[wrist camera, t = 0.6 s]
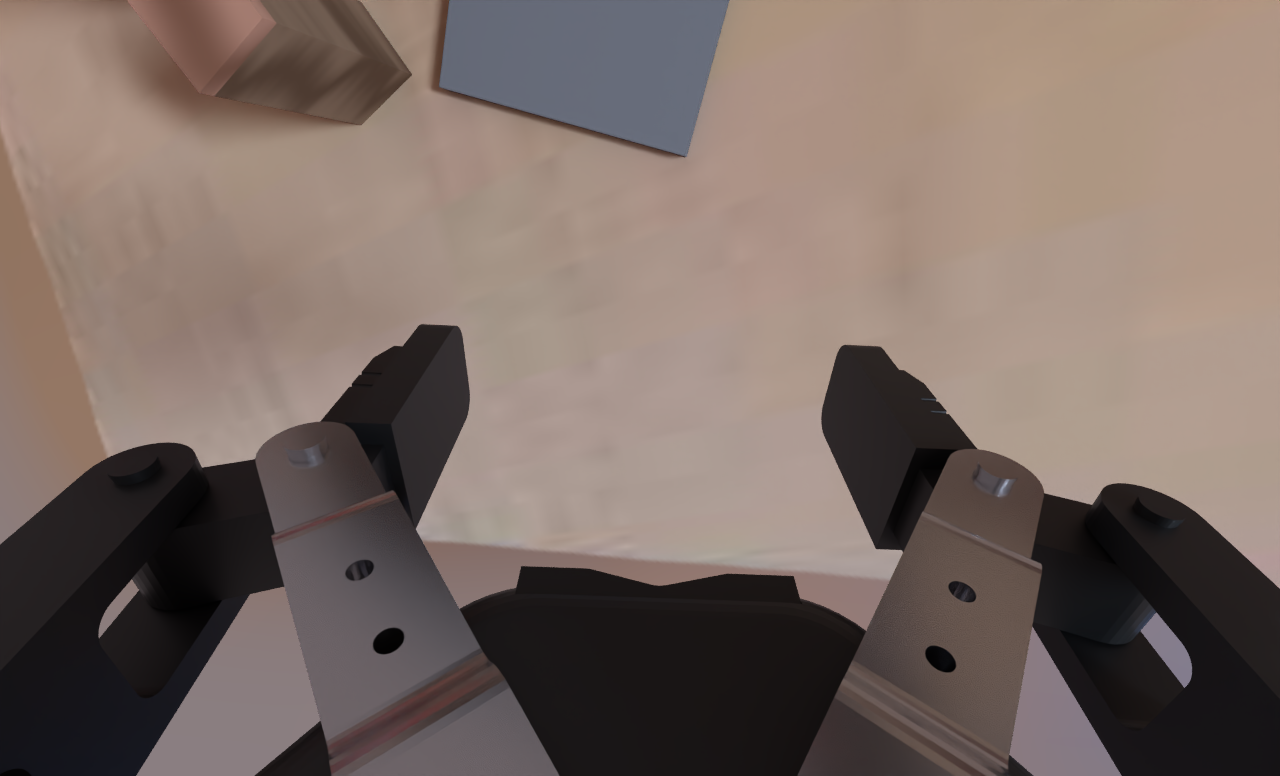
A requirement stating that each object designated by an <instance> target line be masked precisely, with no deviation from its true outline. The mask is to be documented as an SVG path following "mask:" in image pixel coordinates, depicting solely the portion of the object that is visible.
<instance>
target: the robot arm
mask: <svg viewBox="0 0 1280 776" xmlns="http://www.w3.org/2000/svg"><path fill="white" fill-rule="evenodd" d="M469 402H470V391H469V383H468V375H467V368H466V360H465V352H464V345H463V338H462V333H461V330H460V328H459V327H458V326H448V325H426V324H421V325H419V326H418V327H417V329H416V330H415V331H414V333H413V334H412V335H411V336H410V338H409V339H408V340H407V342H406V343H405V344H404V346H393V347H392V348H390V349H388V350H386V351H385V352H383V353H381V354H379V355H378V356H376V357H374V358H373V359H372V360H371V362H370V363H369V364H368V365H367V366H366V368H365V369H364V370H363V371H362V375H359V376H358V377H357V378H356V380H355V381H354V382H353V383H352V387H349V388H348V389H347V390H346V391H345V393H344V394H343V395H342V396H341V397H340V399H339V400H338V401H337V402H336V403H335V405H334V406H333V407H332V408H331V409H330V411H329V412H328V413H327V414H326V415H325V417H324V418H323V419H322V420H321V421H320V422H313V423H306V424H302V425H298V426H295V427H292V428H289V429H287V430H285V431H282V432H281V433H279V434H277V435H275V436H273V437H272V438H271V439H269V440H268V441H267V442H265V443H264V444H263V445H262V447H261V448H260V449H259V450H258V452H257V454H256V458H255V459H254V460H248V461H242V462H236V463H229V464H223V465H216V466H210V467H204V468H202V467H201V465H200V463H199V461H198V459H197V456H196V454H195V452H194V451H193V450H192V449H191V448H190V447H188V446H186V445H183V444H178V443H156V444H149V445H144V446H139V447H136V448H132V449H129V450H126V451H123V452H120V453H118V454H116V455H113V456H111V457H109V458H107V459H105V460H103V461H101V462H100V463H98V464H96V465H95V466H93V467H92V468H90V469H89V470H88V471H86V472H85V473H84V474H83V475H82V476H80V477H79V478H78V479H77V480H76V481H75V482H73V483H72V484H71V485H70V486H69V487H67V488H66V489H65V490H64V491H63V492H62V493H61V494H59V495H58V496H57V497H56V498H55V499H53V500H52V501H51V502H50V503H49V504H48V505H46V506H45V507H44V508H43V509H42V510H40V511H39V512H38V513H37V514H36V515H35V516H33V517H32V518H31V519H30V520H29V521H27V522H26V523H25V524H24V525H23V526H22V527H20V528H19V529H18V530H17V531H16V532H15V533H14V534H12V535H11V536H10V537H9V538H7V539H6V540H5V541H4V542H3V543H2V544H1V545H0V776H136V775H137V773H138V772H139V770H140V769H141V767H142V765H143V764H144V762H145V761H146V759H147V757H148V756H149V754H150V753H151V751H152V749H153V748H154V746H155V745H156V743H157V741H158V740H159V738H160V737H161V735H162V733H163V732H164V730H165V729H166V727H167V725H168V724H169V722H170V721H171V719H172V718H173V716H174V714H175V713H176V711H177V709H178V708H179V706H180V705H181V703H182V701H183V700H184V698H185V697H186V695H187V694H188V692H189V690H190V689H191V687H192V686H193V684H194V682H195V681H196V679H197V677H198V676H199V674H200V673H201V671H202V670H203V668H204V666H205V665H206V663H207V662H208V660H209V658H210V657H211V655H212V654H213V652H214V651H215V649H216V647H217V645H218V644H219V643H220V641H221V639H222V638H223V636H224V635H225V633H226V631H227V630H228V628H229V627H230V625H231V623H232V622H233V620H234V619H235V617H236V616H237V614H238V612H239V611H240V609H241V607H242V606H243V604H244V603H245V601H246V600H247V598H248V596H249V595H250V594H252V593H257V592H261V591H266V590H270V589H274V588H279V587H284V586H285V590H286V594H287V597H288V601H289V605H290V608H291V612H292V616H293V619H294V623H295V627H296V631H297V635H298V638H299V642H300V646H301V649H302V653H303V657H304V660H305V664H306V668H307V672H308V675H309V679H310V683H311V686H312V690H313V694H314V697H315V701H316V705H317V709H318V713H319V716H320V720H321V721H320V722H318V723H317V724H316V725H315V726H314V727H312V728H311V729H310V730H309V731H308V732H306V733H305V734H304V735H303V736H302V737H300V738H299V739H298V740H297V741H296V742H295V743H293V744H292V745H291V746H290V747H288V748H287V749H286V750H285V751H284V752H282V753H281V754H280V755H279V756H278V757H276V758H275V759H274V760H273V761H272V762H270V763H269V764H268V765H267V766H266V767H264V768H263V769H262V770H261V771H260V772H258V773H257V774H256V775H255V776H1033V775H1032V774H1031V773H1030V772H1028V771H1027V770H1026V769H1025V768H1024V767H1023V766H1022V765H1020V764H1019V763H1018V762H1017V761H1016V760H1015V759H1014V758H1012V757H1011V756H1010V755H1009V753H1010V747H1011V741H1012V736H1013V731H1014V725H1015V719H1016V714H1017V708H1018V702H1019V697H1020V692H1021V686H1022V679H1023V675H1024V669H1025V663H1026V658H1027V652H1028V646H1029V641H1030V635H1031V630H1032V626H1033V628H1034V630H1035V631H1036V633H1037V635H1038V636H1039V638H1040V640H1041V641H1042V643H1043V645H1044V646H1045V648H1046V650H1047V651H1048V653H1049V655H1050V656H1051V658H1052V660H1053V661H1054V663H1055V665H1056V666H1057V668H1058V670H1059V671H1060V673H1061V675H1062V676H1063V678H1064V680H1065V682H1066V683H1067V685H1068V687H1069V688H1070V690H1071V692H1072V693H1073V695H1074V697H1075V698H1076V700H1077V702H1078V703H1079V705H1080V707H1081V708H1082V710H1083V712H1084V713H1085V715H1086V717H1087V718H1088V720H1089V722H1090V723H1091V725H1092V727H1093V728H1094V730H1095V732H1096V733H1097V735H1098V737H1099V738H1100V740H1101V742H1102V743H1103V745H1104V747H1105V748H1106V750H1107V752H1108V754H1109V755H1110V757H1111V759H1112V760H1113V762H1114V764H1115V765H1116V767H1117V769H1118V770H1119V772H1120V773H1121V775H1122V776H1280V589H1279V588H1278V587H1277V586H1276V585H1275V584H1274V583H1273V582H1272V581H1271V580H1270V579H1269V578H1267V577H1266V576H1265V575H1264V574H1263V573H1262V572H1261V571H1260V570H1259V569H1258V568H1257V567H1256V566H1254V565H1253V564H1252V563H1251V562H1250V561H1249V560H1248V559H1247V558H1246V557H1245V556H1244V555H1242V554H1241V553H1240V552H1239V551H1238V550H1237V549H1236V548H1235V547H1234V546H1233V545H1232V544H1231V543H1229V542H1228V541H1227V540H1226V539H1225V538H1224V537H1223V536H1222V535H1221V534H1220V533H1219V532H1217V531H1216V530H1215V529H1214V528H1213V527H1212V526H1211V525H1210V524H1209V523H1208V522H1207V521H1205V520H1204V519H1203V518H1202V517H1201V516H1200V515H1199V514H1197V513H1196V512H1195V511H1193V510H1192V509H1190V508H1189V507H1187V506H1186V505H1184V504H1183V503H1181V502H1179V501H1177V500H1175V499H1173V498H1171V497H1169V496H1167V495H1165V494H1162V493H1160V492H1157V491H1155V490H1152V489H1149V488H1145V487H1142V486H1137V485H1133V484H1123V483H1117V484H1111V485H1108V486H1106V487H1104V488H1103V490H1102V491H1101V493H1100V494H1099V496H1098V497H1097V499H1096V500H1095V502H1094V503H1093V505H1090V504H1086V503H1082V502H1078V501H1074V500H1069V499H1065V498H1061V497H1057V496H1053V495H1049V494H1045V493H1044V489H1043V486H1042V484H1041V483H1040V481H1039V480H1038V479H1037V477H1036V476H1035V475H1034V474H1033V473H1031V472H1030V471H1029V470H1028V469H1026V468H1025V467H1024V466H1022V465H1020V464H1019V463H1017V462H1015V461H1013V460H1011V459H1009V458H1007V457H1005V456H1002V455H1000V454H997V453H994V452H990V451H985V450H979V449H977V448H976V447H975V446H974V444H973V443H972V442H971V441H970V439H969V438H968V437H967V436H966V435H965V433H964V432H963V431H962V430H961V428H960V427H959V426H958V425H957V423H956V422H955V421H954V420H953V419H952V417H951V416H950V415H949V414H946V410H945V409H944V408H943V406H942V405H941V404H940V403H939V402H936V398H935V396H934V395H933V394H932V393H931V392H930V390H929V389H928V388H927V387H926V385H925V384H924V383H922V382H921V381H919V380H918V379H916V378H915V377H913V376H912V375H910V374H909V373H907V372H906V371H904V370H899V369H898V368H897V367H896V365H895V364H894V363H893V361H892V360H891V359H890V358H889V356H888V355H887V354H886V352H885V351H884V350H883V349H882V348H881V347H878V346H857V345H843V346H842V347H841V348H840V349H839V351H838V353H837V356H836V360H835V363H834V367H833V371H832V374H831V378H830V382H829V385H828V389H827V393H826V396H825V400H824V404H823V408H822V419H821V420H822V430H823V434H824V436H825V439H826V441H827V443H828V445H829V447H830V449H831V452H832V454H833V456H834V458H835V460H836V463H837V465H838V467H839V469H840V471H841V473H842V476H843V478H844V480H845V482H846V484H847V487H848V489H849V491H850V493H851V495H852V498H853V500H854V502H855V504H856V506H857V508H858V511H859V513H860V515H861V517H862V519H863V522H864V524H865V526H866V528H867V530H868V532H869V535H870V537H871V539H872V541H873V543H874V546H875V548H876V549H890V550H902V551H903V554H902V556H901V558H900V560H899V563H898V565H897V567H896V569H895V571H894V573H893V575H892V577H891V580H890V582H889V584H888V586H887V588H886V590H885V593H884V594H883V597H882V599H881V601H880V603H879V605H878V607H877V609H876V611H875V614H874V616H873V618H872V620H871V622H870V624H869V626H868V629H867V631H865V630H864V629H862V628H861V627H860V626H858V625H857V624H856V623H854V622H852V621H851V620H849V619H847V618H846V617H844V616H842V615H840V614H839V613H836V612H834V611H832V610H830V609H828V608H826V607H824V606H821V605H818V604H815V603H813V602H810V601H807V600H803V599H800V597H799V594H798V590H797V587H796V583H795V580H794V576H776V575H747V574H724V575H718V576H713V577H708V578H702V579H697V580H692V581H686V582H681V583H676V584H671V585H664V586H654V585H650V584H646V583H642V582H639V581H635V580H630V579H627V578H623V577H619V576H615V575H611V574H607V573H604V572H600V571H596V570H592V569H583V568H555V567H553V568H552V567H527V566H526V567H525V566H522V567H521V570H520V575H519V579H518V584H517V588H514V589H509V590H505V591H501V592H498V593H495V594H491V595H488V596H486V597H483V598H481V599H479V600H476V601H474V602H472V603H470V604H468V605H466V606H464V607H462V608H460V609H459V608H458V606H457V604H456V602H455V600H454V598H453V596H452V595H451V593H450V591H449V589H448V587H447V586H446V584H445V582H444V580H443V579H442V577H441V575H440V573H439V571H438V569H437V567H436V566H435V564H434V562H433V560H432V558H431V556H430V555H429V553H428V551H427V549H426V547H425V545H424V544H423V542H422V540H421V538H420V536H419V535H418V533H417V531H416V527H417V525H418V523H419V521H420V519H421V516H422V514H423V512H424V510H425V508H426V505H427V503H428V501H429V499H430V497H431V495H432V492H433V490H434V488H435V486H436V484H437V481H438V479H439V477H440V475H441V473H442V471H443V468H444V466H445V464H446V462H447V460H448V458H449V455H450V453H451V451H452V449H453V447H454V444H455V442H456V440H457V438H458V436H459V434H460V431H461V429H462V427H463V425H464V423H465V420H466V418H467V415H468V410H469ZM131 579H132V580H133V581H134V583H135V584H136V586H137V588H138V589H139V591H138V592H137V594H136V595H135V596H134V597H133V598H132V600H131V601H130V602H129V603H128V604H127V606H126V607H125V608H124V609H123V611H122V612H121V613H120V614H119V615H118V617H117V618H116V619H115V620H114V621H113V622H112V624H111V625H110V626H109V627H108V628H107V630H106V631H105V632H104V633H103V635H102V636H101V637H100V638H99V637H98V631H99V625H100V622H101V619H102V617H103V615H104V613H105V611H106V609H107V607H108V606H109V605H110V604H111V602H112V601H113V600H114V599H115V598H116V596H117V595H118V594H119V593H120V592H121V591H122V590H123V588H124V587H125V586H126V585H127V584H128V583H129V582H130V580H131ZM1156 612H1157V613H1158V614H1159V616H1160V617H1161V618H1162V619H1163V621H1164V622H1165V623H1166V624H1167V625H1168V626H1169V628H1170V629H1171V630H1172V631H1173V633H1174V634H1175V635H1176V636H1177V637H1178V639H1179V640H1180V641H1181V642H1182V644H1183V645H1184V646H1185V648H1186V650H1187V652H1188V654H1189V656H1190V659H1191V663H1192V677H1191V680H1190V682H1189V684H1188V685H1187V686H1186V687H1185V688H1184V687H1183V686H1182V684H1181V683H1180V682H1179V680H1178V679H1177V678H1176V677H1175V675H1174V674H1173V673H1172V671H1171V670H1170V669H1169V668H1168V666H1167V665H1166V664H1165V662H1164V661H1163V660H1162V658H1161V657H1160V656H1159V655H1158V653H1157V652H1156V651H1155V649H1154V648H1153V647H1152V646H1151V644H1150V643H1149V642H1148V640H1147V639H1146V638H1145V637H1144V635H1143V634H1142V633H1141V629H1142V628H1143V627H1144V626H1145V625H1146V624H1147V622H1148V621H1149V620H1150V619H1151V618H1152V617H1153V615H1154V614H1155V613H1156Z"/></svg>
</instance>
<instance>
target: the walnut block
mask: <svg viewBox="0 0 1280 776" xmlns="http://www.w3.org/2000/svg"><path fill="white" fill-rule="evenodd" d="M127 1H128V2H129V4H130V5H131V6H132V7H133V9H134V10H135V11H136V13H137V14H138V15H139V16H140V18H141V19H142V20H143V22H144V23H145V24H146V25H147V27H148V28H149V29H150V31H151V32H152V33H153V34H154V36H155V37H156V38H157V40H158V41H159V42H160V43H161V45H162V46H163V47H164V49H165V50H166V51H167V52H168V54H169V55H170V56H171V58H172V59H173V60H174V61H175V63H176V64H177V65H178V67H179V68H180V69H181V70H182V72H183V73H184V74H185V76H186V77H187V78H188V79H189V81H190V82H191V83H192V85H193V86H194V87H195V88H196V90H197V91H198V92H199V93H201V94H206V95H211V96H216V97H221V98H226V99H231V100H236V101H241V102H247V103H252V104H257V105H262V106H267V107H272V108H277V109H282V110H287V111H293V112H298V113H303V114H308V115H313V116H318V117H323V118H328V119H333V120H339V121H344V122H349V123H354V124H359V125H362V124H363V123H364V122H365V121H366V120H367V119H368V118H369V117H370V116H371V115H372V114H373V113H374V112H375V111H376V110H377V109H378V108H379V107H380V106H381V105H382V104H383V103H384V102H385V101H386V100H387V99H388V98H389V97H390V96H391V95H392V94H393V93H394V92H395V91H396V90H397V89H398V88H399V87H400V86H401V85H402V84H403V83H404V82H405V81H406V80H407V79H408V78H409V77H410V76H411V75H412V74H411V72H410V71H409V69H408V68H407V67H406V65H405V64H404V62H403V61H402V60H401V58H400V57H399V55H398V54H397V52H396V51H395V50H394V48H393V47H392V45H391V44H390V42H389V41H388V40H387V38H386V37H385V35H384V34H383V32H382V31H381V30H380V28H379V27H378V25H377V24H376V22H375V21H374V20H373V18H372V17H371V15H370V14H369V12H368V11H367V10H366V8H365V7H364V5H363V4H362V3H361V2H360V1H358V0H127Z"/></svg>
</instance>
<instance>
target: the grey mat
mask: <svg viewBox="0 0 1280 776" xmlns="http://www.w3.org/2000/svg"><path fill="white" fill-rule="evenodd" d="M728 3H729V0H449V8H448V17H447V25H446V33H445V42H444V50H443V58H442V67H441V75H440V83H439V87H441V88H443V89H446V90H449V91H453V92H457V93H460V94H464V95H467V96H471V97H474V98H478V99H481V100H485V101H489V102H492V103H496V104H499V105H503V106H506V107H510V108H513V109H517V110H521V111H524V112H528V113H531V114H535V115H538V116H542V117H545V118H549V119H553V120H556V121H560V122H563V123H567V124H570V125H574V126H578V127H581V128H585V129H588V130H592V131H595V132H599V133H602V134H606V135H610V136H613V137H617V138H620V139H624V140H627V141H631V142H634V143H638V144H642V145H645V146H649V147H652V148H656V149H659V150H663V151H666V152H670V153H674V154H677V155H681V156H684V157H687V153H688V149H689V146H690V142H691V138H692V135H693V131H694V127H695V124H696V120H697V116H698V113H699V109H700V105H701V102H702V98H703V94H704V91H705V87H706V83H707V80H708V76H709V72H710V69H711V65H712V61H713V58H714V54H715V50H716V47H717V43H718V39H719V36H720V32H721V28H722V25H723V21H724V17H725V14H726V10H727V6H728Z"/></svg>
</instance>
